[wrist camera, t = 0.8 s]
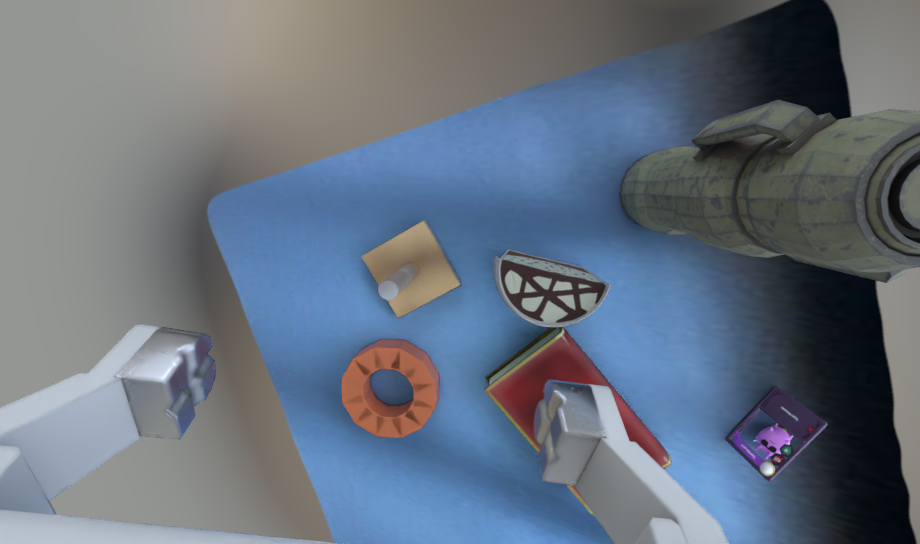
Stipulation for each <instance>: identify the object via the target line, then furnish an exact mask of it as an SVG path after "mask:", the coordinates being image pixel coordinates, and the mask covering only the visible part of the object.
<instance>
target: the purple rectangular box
mask: <svg viewBox="0 0 920 544" xmlns="http://www.w3.org/2000/svg"><path fill="white" fill-rule="evenodd" d="M760 410H763V411H764V412H765V413H766V414H768V415H769V416H770V417H771V418H773V419H774V420H775V421H776V422H778V423H779V424H780V425H781V426H782V427H784V428H783V429H782V428H780V427H777V426H778V424H777V423H776V424H775V425H774V426H772V427H768V428H765V429H763V430H762V431H761V432H760V433H759V434H758V436H757V437H755V438H757V439H756V440H754V441H756V442H757V444H758V447H756V448H755V450H757V449H761V450H762V451H763V452H764V453H766V454H767V455H766V459H767V458H768V457H769V456H772V457H771V461H772V463H773V464H772V463H770V462H765V461H764V460H763V459H762V458H761V457H760V456H758V455H757V454H756V453H755V452H754V451H753V450H752V449H750V448H749V447H748V446H747V445H746V444H745V443H744V442H743V441H742V440H741V439H740V438H741V435H740V433H739V432H740V431H741V430H742V429H743V428H744V426H745V425H746V424H747V423H748V422H749V421H750V420H751V419H752V418H753V417H754V416H755V415H756V414H757V413H758V412H759V411H760ZM827 425H828V424H827V422H825V421H824V420H822V419H821V418H820V417H818V416H817V415H816V414H814V413H813V412H811V411H810V410H809V409H807V408H806V407H804V406H803V405H802V404H800V403H799V402H797V401H796V400H795V399H793V398H792V397H791V396H789V395H788V394H786V393H785V392H784V391H782V390H781V389H779V388H778V387H775V388H774V389H773V390H772V391H771V392H770V393H769V394H768V395H767V396H766V397H765V398H764V399H763V400H762V401H761V402H760V403H759V404H758V405H757V406H756V408H755V409H754V410H753V411H752V412H751V413H750V414H749V415H748V416H747V417H746V418H745V419H744V420H743V421H742V422H741V423H740V424H739V425H738V426H737V427H736V428H735V430H734V431H733V432H732V433H731V434H730V435H729V436H728V437H727V438H726V441H727V442H728V443H729V444H730V445H731V446H732V447H733V448H734V449H735V450H737V451H738V452H739V453H740V454H741V455H742V456H743V457H744V458H745V459H746V460H747V461H748V462H749V463H750V464H751V465H752V466H753V467H754V468H755V469H756V470H757V471H758V472H759V473H760V474H761V475H762V476H763V477H764V478H765V479H766V480H768V481H772V480H773V479H774V478H775V477H776V476H777V475H778V474H779V473H780V472H781V471H782V470H783V469H784V468H785V467H786V466H787V465H788V464H789V463H790V462H791V461H792V460H793V459H794V458H795V457H796V456H797V455H798V454H799V453H800V452H801V451H802V450H803V449H804V448H805V447H806V446H807V445H808V444H809V443H810V442H811V441H812V440H813V439H814V438H815V437H816V436H817V435H818V434H819V433H820V432H821V431H822V430H823V429H824V428H825V427H826V426H827ZM786 431H789V432H790V433H791V434H792V435H790V436H789V435H788V433H787V432H786ZM793 435H794V436H795V437H796V438H797V439H799V440H800V441H801V442H802V444H801V445H800V446H799V447H798V448H797V449H796V450H795V451H794V449H793V447H792V446H791V445H790V440H791V438H792V437H793ZM734 437H735V438H736V439H735V440H734V441H732V439H733V438H734ZM784 456H785V457H788V458H787V459H786V460H785V459H784ZM773 465H776V466H779V467H778V468H777V469H776V470H775V468H774V466H773Z"/></svg>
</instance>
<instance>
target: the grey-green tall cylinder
mask: <svg viewBox="0 0 920 544" xmlns="http://www.w3.org/2000/svg"><path fill="white" fill-rule="evenodd" d="M691 141H692V142H693V143H694V144H695V145H696V146H697V147H698V148H694V147H686V146H677V147H673V148H669V149H665V150H661V151H657V152H653V153H651V154H649V155H646V156H644V157H642V158H641V159H639V160H637V161H636V162H634V163H633V164H632V166H631V167H630V168H629V169H628V170H627V171H626V173H625V175H624V177H623V179H622V181H621V185H620V193H619V195H620V201H621V206H622V207H623V209H624V211H625V213H626V214H627V216H628V217H629V218H631V219H632V220H633V221H634V222H635V223H637V224H639V225H641V226H643V227H645V228H648V229H650V230H653V231H656V232H660V233H663V234H671V235H682V234H690V235H693V236H694V237H695V238H696V239H698V240H699V241H702V242H704V243H707V244H709V245H711V246H714V247H717V248H721V249H724V250H728V251H732V252H735V253H739V254H743V255H746V256H756V257H768V258H769V257H773V256H778V255H783V254H786V255H788V256H789V257H791V258H792V259H794V260H795V261H799V262H803V263H807V264H812V265H816V266H820V267H824V268H828V269H832V270H836V271H840V272H844V273H848V274H852V275H856V276H860V277H864V278H869V279H873V280H877V281H881V282H885V283H887V282H889V281H891V280H893V279H896V278H898V277H900V276H902V275H903V274H905V273H906V272H907V271H908V270H909V269H910V268H916V267H920V111H909V110H893V109H889V110H884V111H879V112H874V113H870V114H864V115H860V116H855V117H850V118H845V119H840V120H836V119H835V118H834V117H833V116H832V115H831V114H830V113H827V114H822V115H818V116H816V115H815V114H814V113H813V112H812V111H811V110H810V109H809V108H807V107H803V106H800V105H796V104H792V103H788V102H784V101H781V100H776V101H773V102H770V103H767V104H764V105H761V106H758V107H755V108H751V109H748V110H745V111H742V112H739V113H736V114H733V115H730V116H727V117H724V118H721V119H718V120H716V121H714V122H712V123H710V124H708V125H707V126H706V127H705V128H704V129H703V130H702V131H701V132H700V133H698V134H697V135H696V136H695V137H694V138H693V139H692V140H691Z"/></svg>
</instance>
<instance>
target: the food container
mask: <svg viewBox="0 0 920 544" xmlns="http://www.w3.org/2000/svg"><path fill="white" fill-rule="evenodd" d="M494 279H495V284H496V287H497V290H498V292H499V294H500V296H501V298H502V300H503V301H504V302H505V304H506V305H507V306H508V307H509V308H510V309H511V310H512V311H513V312H514V313H515V314H517V315H518V316H519V317H521V318H522V319H524V320H526V321H528V322H530V323H532V324H535V325H538V326H544V327H564V326H568V325H572V324H575V323H577V322H579V321H582V320H584V319H585V318H587V317H588V316H590V315H591V314H592V313H593V312H594V311H596V310H597V309H598V308H599V306H600V305H601V304H602V303H603V301H604V300H605V298H606V296H607V295H608V293H609V290H610V288H611V283H609V285H608V284H606V283H605V282H604V281H602V280H601V279H599V278H598V277H597V276H595V275H594V274H592V273H591V272H589V271H588V270H587V269H585V268H584V267H580V266H576V265H572V264H568V263H564V262H559V261H555V260H551V259H547V258H543V257H538V256H534V255H530V254H526V253H522V252H517V251H513V250H509V249H508V250H507V251H506V252H505V254H504V255H503V256H502V257H501V258H500V259H499V258H498V257H497V256H495V259H494Z"/></svg>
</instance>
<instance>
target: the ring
mask: <svg viewBox="0 0 920 544" xmlns="http://www.w3.org/2000/svg"><path fill="white" fill-rule="evenodd" d="M380 369H395V370H396V371H398V372H400V373H401V374H403V375H405V376H406V377H407V378H408V380H409V382H410V383H411V385H412V387H413V399H412V401H410V402H408V403H406V404H404V405H401V406H395V405H387V404H385V403H384V402H382V401H380V400H379V399H377V398H376V396H375V394H374V393H373V391H372V389H371V386H370V375H371V374H372V373H374V372H376V371H378V370H380ZM341 384H342V403H343V405H344V406H345V408H346V409H347V411H348V413H349V414H350V416H351V417H352V419H353V421H354V422H355V423H356V424H357V425H358V426H360V427H362V428H363V429H365V430H367V431H369V432H370V433H372V434H374V435H375V436H378V437H395V438H402V437H404V436H406V435H408V434H410V433H413V432H415V431H417V430H419V429H421V428H423V427H424V425H425V423H426V422H427V420H428V419H429V417H430V416H431V414H432V412H433V411H434V409H435V407H436V404H437V401H438V398H439V373H438V371H437V369H436V368H435V366H434V364H433V363H432V361H431V359H430V358H429V356H428V354H427V353H426V352H425V351H423V350H421V349H419V348H418V347H416V346H414V345H413V344H411V343H409V342H408V341H406V340H392V339H380V340H378V341H377V342H375V343H373V344H371V345H369V346H367V347H365V348H363V349H362V350H360V351H359V352H358V354H357V355H356V356H355V357H354V358H353V359H352V361H351V363H350V365H349V366H348V368H347V370H346V372H345V373H344V375H343V377H342V379H341Z"/></svg>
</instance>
